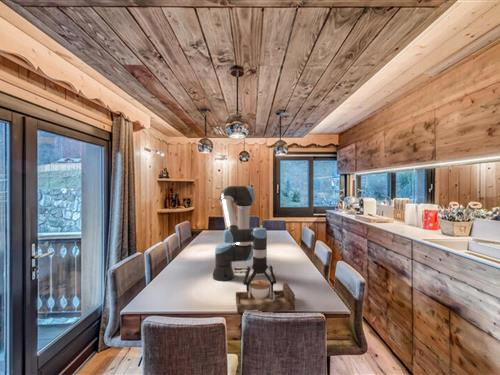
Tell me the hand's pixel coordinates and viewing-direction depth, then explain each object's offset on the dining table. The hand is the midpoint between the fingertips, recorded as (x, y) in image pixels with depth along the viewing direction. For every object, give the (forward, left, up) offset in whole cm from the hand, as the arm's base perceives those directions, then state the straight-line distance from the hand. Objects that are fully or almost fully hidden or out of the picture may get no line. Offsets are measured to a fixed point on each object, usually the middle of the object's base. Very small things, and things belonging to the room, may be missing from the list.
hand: (259, 296), depth 141 cm
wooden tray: (+2, +1, -4) cm, 5 cm away
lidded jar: (0, 0, -1) cm, 1 cm away
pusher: (+8, +4, -3) cm, 9 cm away
